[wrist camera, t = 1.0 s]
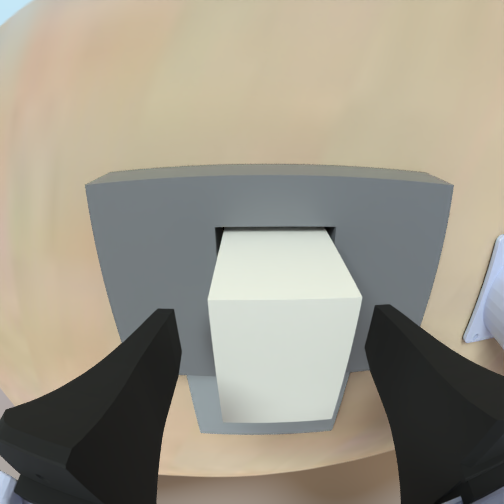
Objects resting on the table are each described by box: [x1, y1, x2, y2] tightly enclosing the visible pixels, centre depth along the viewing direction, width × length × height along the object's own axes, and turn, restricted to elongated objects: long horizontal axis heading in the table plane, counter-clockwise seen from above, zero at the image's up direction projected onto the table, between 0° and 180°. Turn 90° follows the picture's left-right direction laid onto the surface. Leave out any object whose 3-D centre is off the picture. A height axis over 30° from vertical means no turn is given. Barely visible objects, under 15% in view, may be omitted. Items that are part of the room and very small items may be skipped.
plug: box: [208, 226, 362, 423], centre depth 12 cm, size 4×6×7 cm
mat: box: [187, 372, 350, 435], centre depth 19 cm, size 10×8×1 cm
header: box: [85, 164, 454, 376], centre depth 14 cm, size 15×10×2 cm, turn 91°
